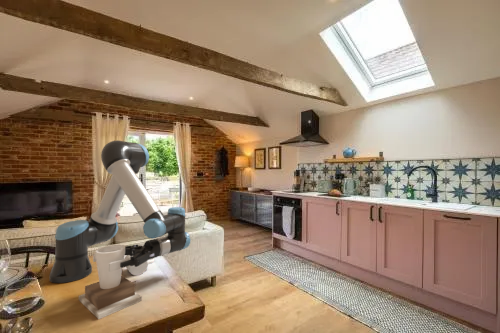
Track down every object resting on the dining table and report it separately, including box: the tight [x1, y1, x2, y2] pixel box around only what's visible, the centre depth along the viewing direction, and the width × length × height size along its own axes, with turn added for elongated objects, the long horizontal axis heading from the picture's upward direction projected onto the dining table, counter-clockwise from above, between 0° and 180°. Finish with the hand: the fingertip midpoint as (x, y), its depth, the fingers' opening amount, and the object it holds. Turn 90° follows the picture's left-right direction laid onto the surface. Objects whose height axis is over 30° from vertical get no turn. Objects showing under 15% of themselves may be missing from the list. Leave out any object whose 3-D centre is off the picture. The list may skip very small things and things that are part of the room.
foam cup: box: [94, 244, 126, 289], centre depth 87 cm, size 10×9×13 cm
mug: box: [124, 255, 155, 276], centre depth 113 cm, size 12×10×8 cm
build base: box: [78, 275, 143, 320], centre depth 87 cm, size 18×14×6 cm
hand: (100, 262), depth 84 cm, fingers open, 13 cm apart
